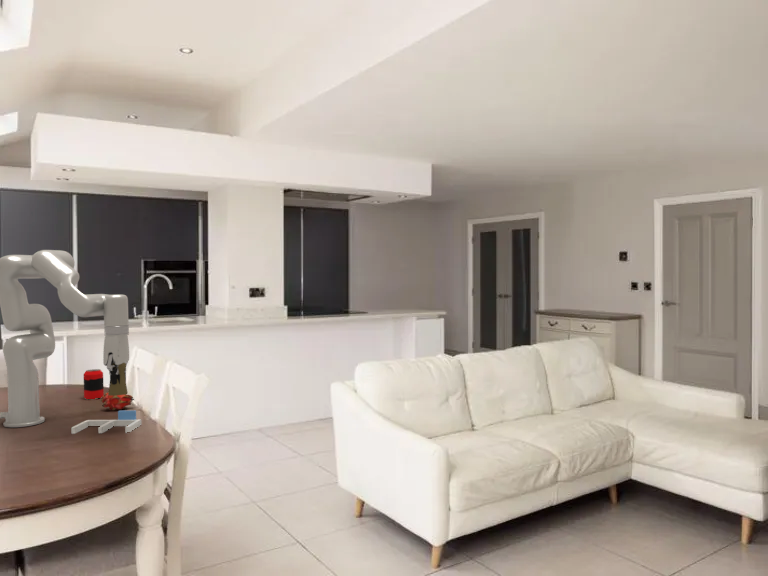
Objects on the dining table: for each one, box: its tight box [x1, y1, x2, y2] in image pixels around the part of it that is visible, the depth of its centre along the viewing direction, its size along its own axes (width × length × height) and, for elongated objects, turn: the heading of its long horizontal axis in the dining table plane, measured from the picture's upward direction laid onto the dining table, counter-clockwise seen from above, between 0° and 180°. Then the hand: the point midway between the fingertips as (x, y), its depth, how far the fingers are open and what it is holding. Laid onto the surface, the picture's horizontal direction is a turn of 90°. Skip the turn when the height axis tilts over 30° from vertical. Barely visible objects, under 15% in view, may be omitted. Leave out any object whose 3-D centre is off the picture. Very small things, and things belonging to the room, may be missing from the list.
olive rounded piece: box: [108, 363, 129, 396], centre depth 204 cm, size 6×6×11 cm
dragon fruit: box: [100, 390, 135, 411], centre depth 236 cm, size 8×8×12 cm
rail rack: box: [70, 409, 142, 435], centre depth 206 cm, size 19×11×5 cm, turn 90°
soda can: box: [83, 368, 105, 399], centre depth 258 cm, size 8×8×12 cm
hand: (118, 384), depth 204 cm, fingers closed on olive rounded piece, 3 cm apart
